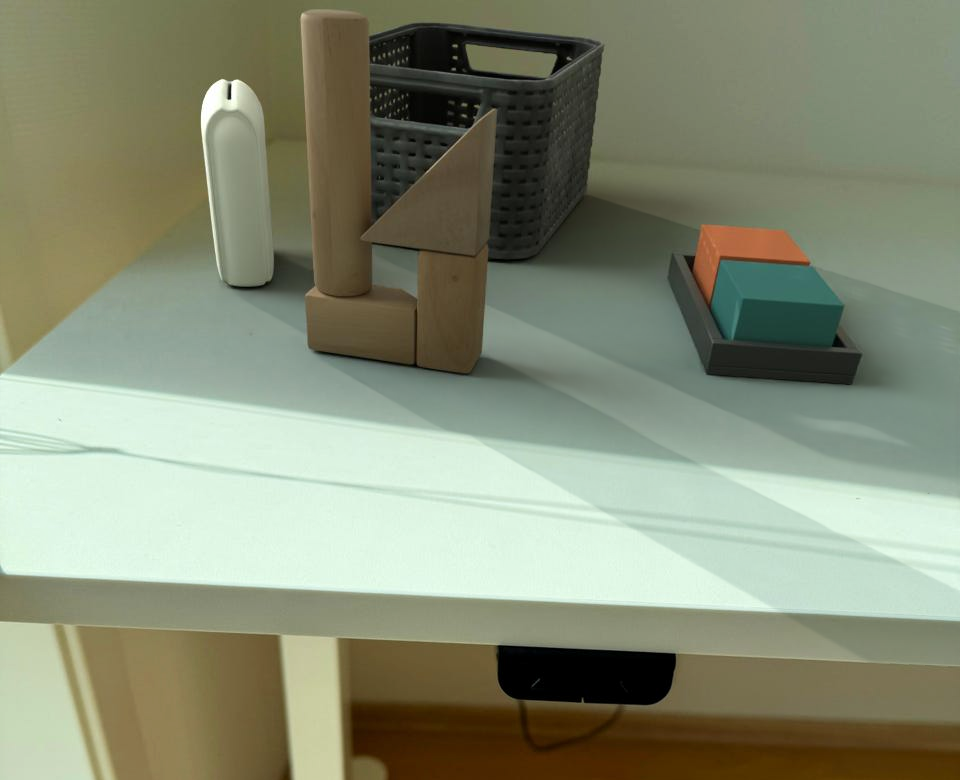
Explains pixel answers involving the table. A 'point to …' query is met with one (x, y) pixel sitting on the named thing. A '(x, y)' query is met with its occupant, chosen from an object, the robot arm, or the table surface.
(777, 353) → the frame
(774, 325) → the teal block
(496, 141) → the storage bin
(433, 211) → the wooden block
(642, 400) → the table surface
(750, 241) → the orange block
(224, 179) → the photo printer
